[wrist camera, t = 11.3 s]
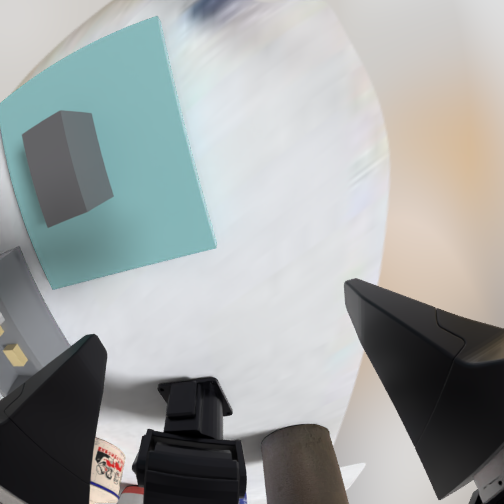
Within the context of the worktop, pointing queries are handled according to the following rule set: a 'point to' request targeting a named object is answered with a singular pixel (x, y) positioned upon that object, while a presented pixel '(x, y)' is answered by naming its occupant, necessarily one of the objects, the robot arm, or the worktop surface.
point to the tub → (24, 325)
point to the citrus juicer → (131, 495)
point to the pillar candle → (302, 467)
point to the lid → (105, 160)
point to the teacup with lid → (106, 472)
